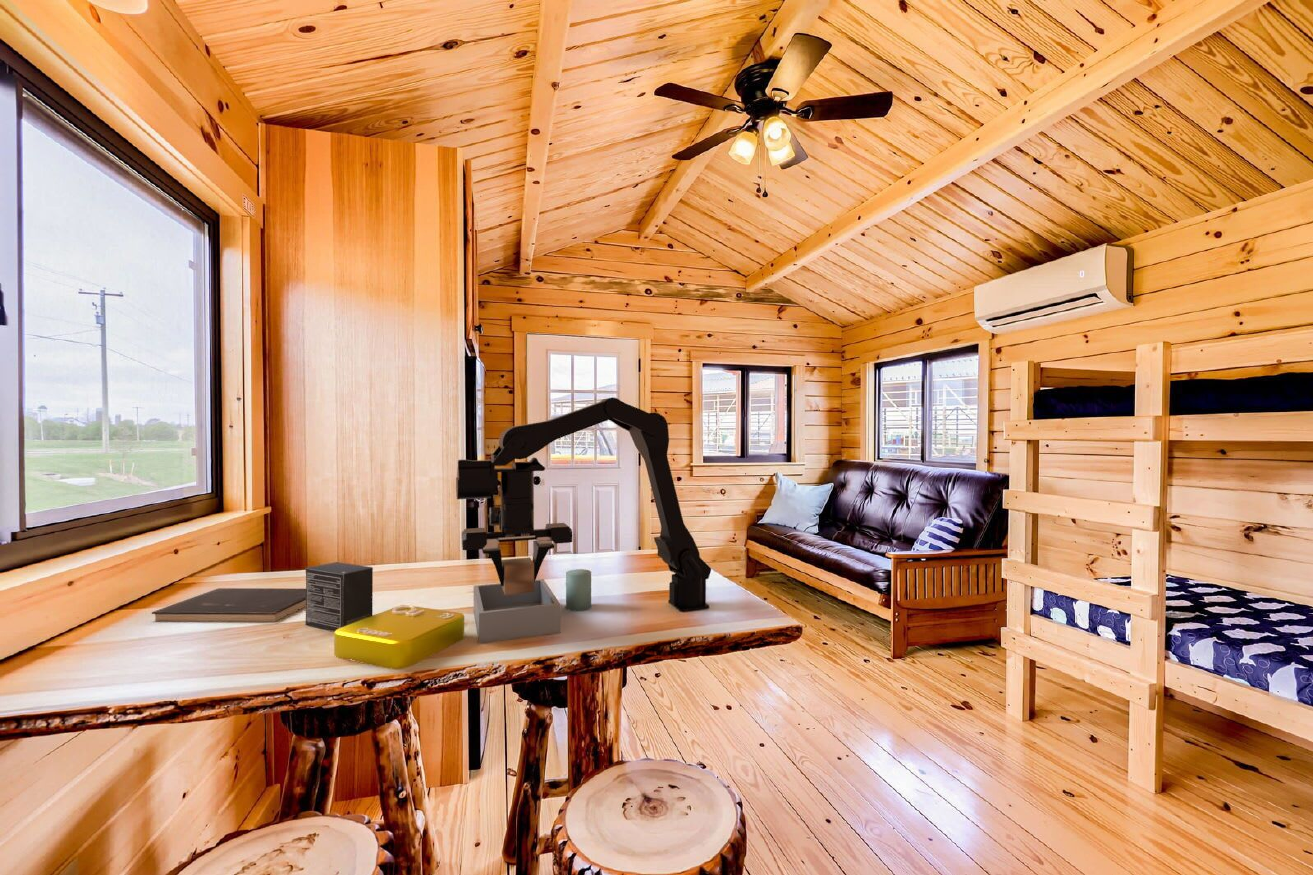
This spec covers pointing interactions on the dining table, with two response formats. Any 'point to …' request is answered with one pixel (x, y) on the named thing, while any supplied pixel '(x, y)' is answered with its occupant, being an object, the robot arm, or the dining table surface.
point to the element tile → (399, 636)
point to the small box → (338, 595)
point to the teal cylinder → (578, 590)
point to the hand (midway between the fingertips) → (517, 584)
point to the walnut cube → (518, 576)
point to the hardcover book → (236, 605)
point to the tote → (515, 612)
